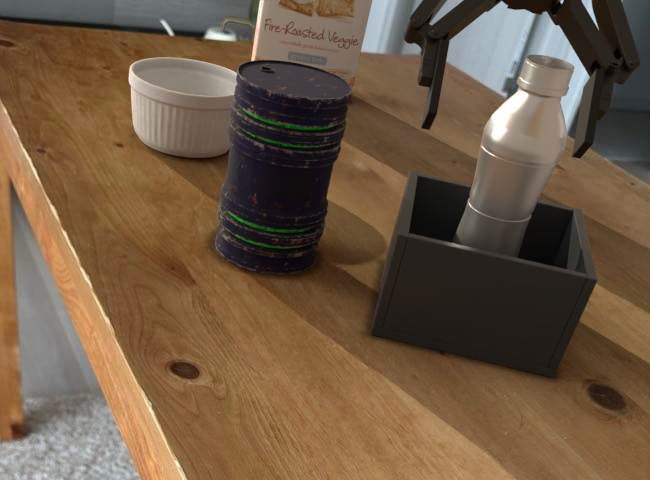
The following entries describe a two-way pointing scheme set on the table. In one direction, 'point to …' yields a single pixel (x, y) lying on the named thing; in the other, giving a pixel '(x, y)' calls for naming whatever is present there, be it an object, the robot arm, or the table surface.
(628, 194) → the table surface
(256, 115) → the storage jar
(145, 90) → the ramekin
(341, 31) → the cracker box
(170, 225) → the table surface
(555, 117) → the silver metal bottle
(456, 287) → the bin
